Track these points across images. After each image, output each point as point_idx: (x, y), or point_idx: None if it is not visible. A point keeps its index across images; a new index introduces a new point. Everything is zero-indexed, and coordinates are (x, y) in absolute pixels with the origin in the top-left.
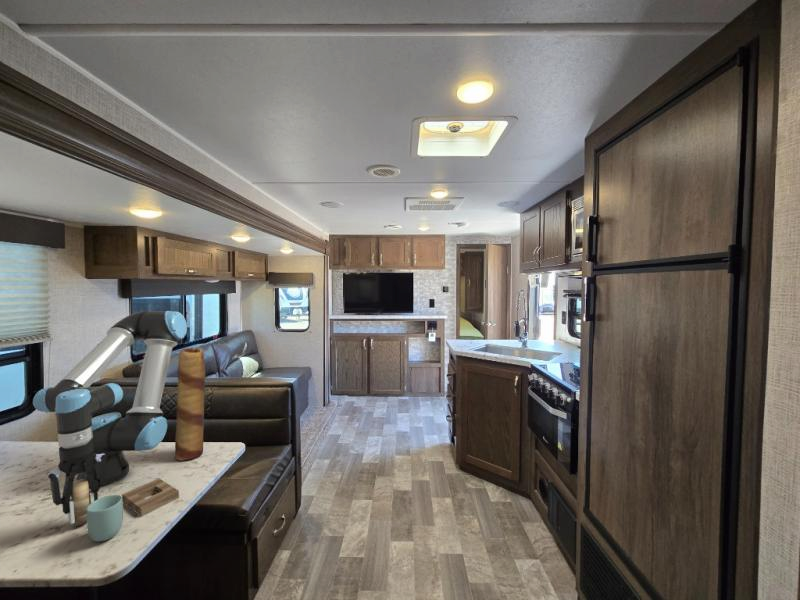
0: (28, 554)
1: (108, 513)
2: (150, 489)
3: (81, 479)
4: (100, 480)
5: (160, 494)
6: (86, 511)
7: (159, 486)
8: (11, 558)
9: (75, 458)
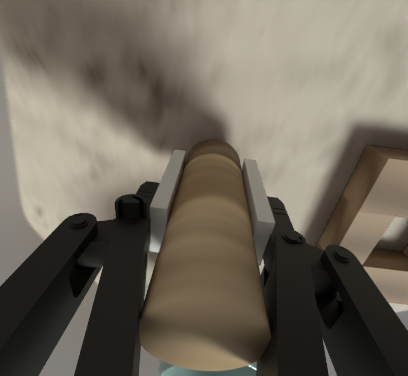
0: (65, 170)
1: None
2: None
3: (244, 315)
4: (322, 332)
5: (396, 282)
6: (160, 363)
7: None
8: (24, 144)
9: None
